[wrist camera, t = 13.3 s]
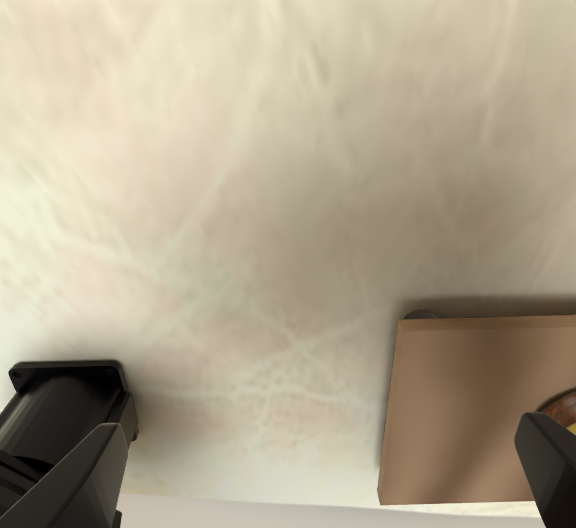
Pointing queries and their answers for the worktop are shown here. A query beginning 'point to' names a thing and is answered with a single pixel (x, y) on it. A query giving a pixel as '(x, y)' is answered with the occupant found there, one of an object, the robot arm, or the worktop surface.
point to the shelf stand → (469, 404)
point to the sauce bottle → (564, 411)
